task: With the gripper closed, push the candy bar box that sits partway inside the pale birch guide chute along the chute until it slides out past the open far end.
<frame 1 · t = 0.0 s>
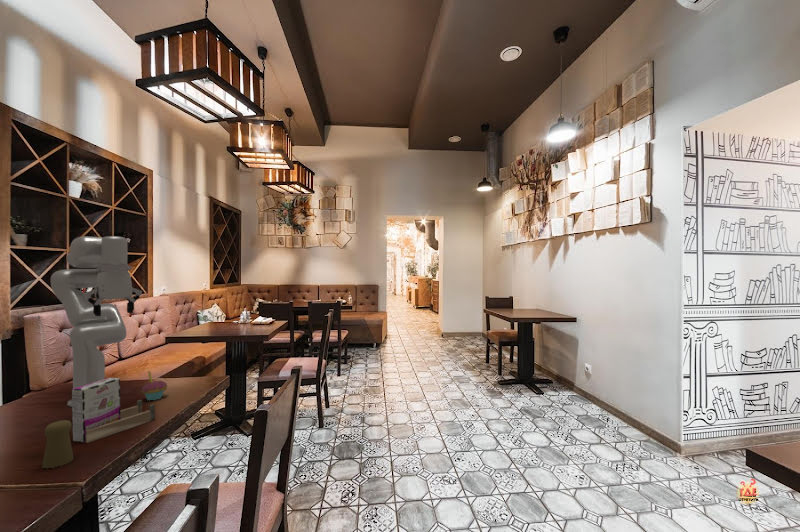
hand: (114, 314, 123), 37 cm above the table, tool pointing down, fingers open, 9 cm apart
cork: (58, 463, 90), on the table
candy bar box: (97, 434, 106), on the table
cupcake: (154, 399, 136), on the table
chute: (116, 427, 110), on the table
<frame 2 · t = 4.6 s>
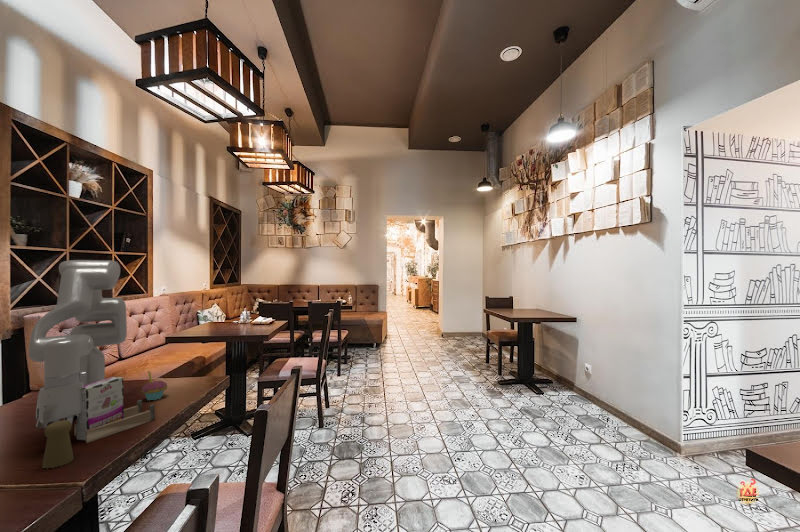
hand: (62, 441, 99), 1 cm above the table, tool pointing down, fingers closed
candy bar box: (100, 433, 107), on the table, touching gripper
everything else where it was.
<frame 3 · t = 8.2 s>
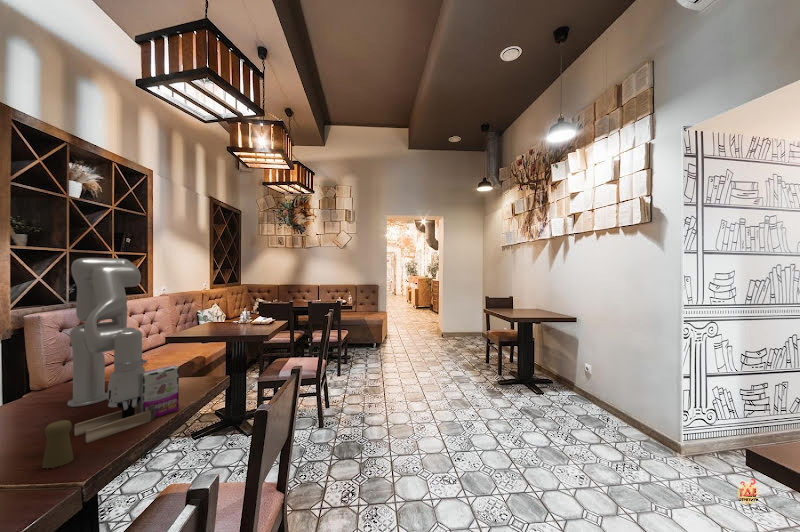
hand: (128, 419, 113), 1 cm above the table, tool pointing down, fingers closed
candy bar box: (158, 414, 120), on the table, touching gripper
everything else where it was.
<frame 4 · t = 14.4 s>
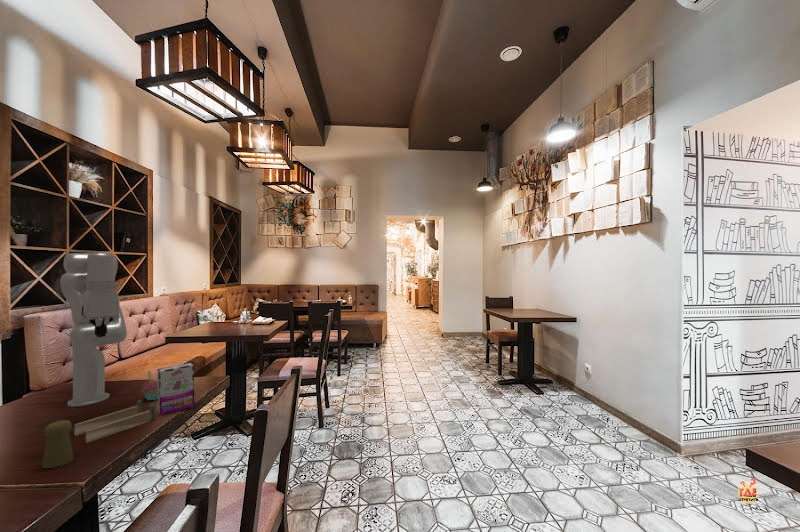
hand: (100, 336, 120), 29 cm above the table, tool pointing down, fingers closed
candy bar box: (176, 410, 124), on the table
everything else where it was.
at the end: candy bar box inside the target area (3.0 cm from its centre), on the table; candy bar box tilted 0° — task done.
